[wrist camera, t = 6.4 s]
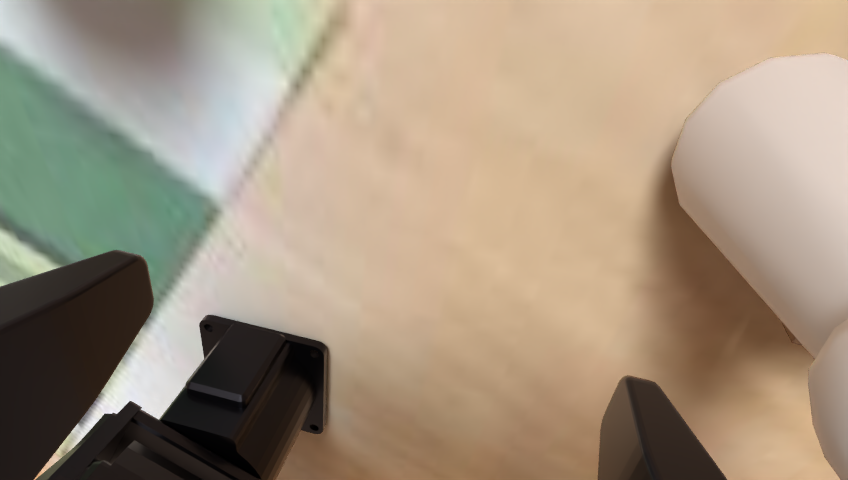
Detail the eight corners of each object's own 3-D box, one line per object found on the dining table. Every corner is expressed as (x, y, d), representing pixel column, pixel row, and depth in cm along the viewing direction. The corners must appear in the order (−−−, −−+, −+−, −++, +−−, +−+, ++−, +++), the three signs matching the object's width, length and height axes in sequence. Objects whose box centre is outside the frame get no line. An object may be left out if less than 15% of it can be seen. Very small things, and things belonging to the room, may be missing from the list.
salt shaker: (815, 223, 19) (1147, 670, 8) (641, 196, 20) (727, 567, 9) (910, 46, 16) (1666, 390, 5) (695, 22, 16) (936, 272, 6)
